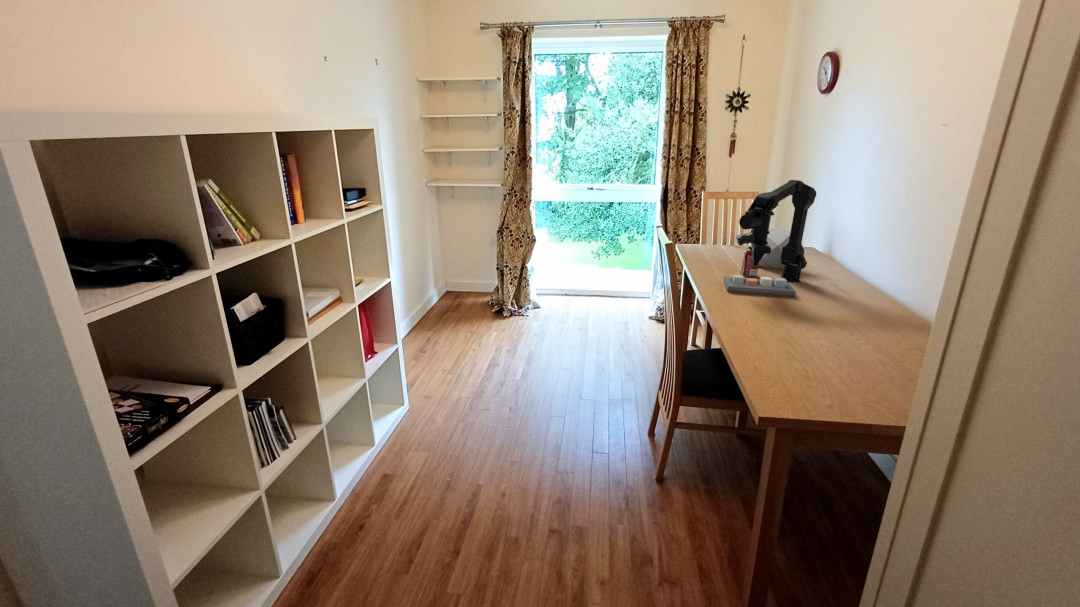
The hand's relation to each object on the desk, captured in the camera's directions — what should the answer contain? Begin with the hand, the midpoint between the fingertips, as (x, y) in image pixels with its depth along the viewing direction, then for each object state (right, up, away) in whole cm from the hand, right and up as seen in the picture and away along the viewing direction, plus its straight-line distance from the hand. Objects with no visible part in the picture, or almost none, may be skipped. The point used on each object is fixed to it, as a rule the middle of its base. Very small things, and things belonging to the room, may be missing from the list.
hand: (754, 265), depth 205 cm
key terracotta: (0, -8, +3) cm, 8 cm away
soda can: (+7, -3, +22) cm, 23 cm away
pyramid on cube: (+24, +2, +38) cm, 45 cm away
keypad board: (+2, -10, +3) cm, 10 cm away
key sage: (-6, -6, +4) cm, 9 cm away
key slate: (+10, -8, +1) cm, 13 cm away
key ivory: (+5, -7, +2) cm, 9 cm away
